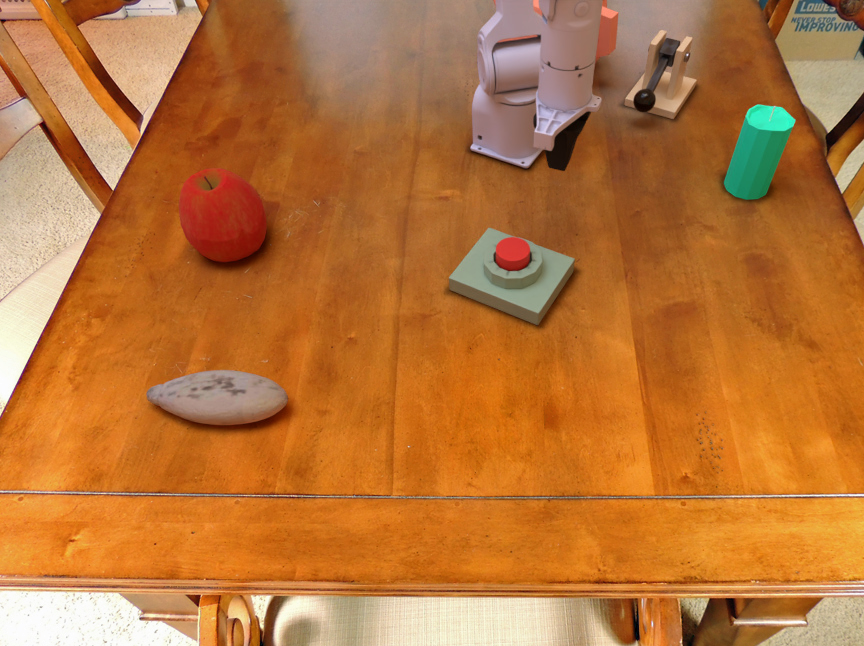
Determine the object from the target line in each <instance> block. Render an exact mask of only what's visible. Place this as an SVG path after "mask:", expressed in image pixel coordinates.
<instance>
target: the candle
mask: <svg viewBox="0 0 864 646" xmlns="http://www.w3.org/2000/svg"><path fill="white" fill-rule="evenodd" d="M796 121H797V120H796V118H794V117H793V116H792V115H791V114H790V112H787V110H786V109H785V108H783V106H776V105H765V104H756V105H754V106H752V107H750V108H749V109H748V110H747V112H746V114H745V117H744V120H743V123H742V126H741V129H740V132H739V135H738V138H737V141H736V144H735V147H734V151H733V153H732V156H731V159H730V162H729V166H728V168H727V171H726V174H725V177H724V180H723V185H724V188H725V190H726V192H728V193H730V194H731V195H732V196H733V197H735V198H739V199H742V200H746V201H747V200H759V199H761V198H763V197H764V196H766V195H767V194H768V191H769V188H770V186H771V183H772V182H773V181H772V180H773V178H774V176H775V173H776V171H777V168H778V165H779V163H780V161H781V159H782V155H783V153H784V151H785V149H786V146H787V144H788V141H789V138H790V136H791V133H792V131H793V128H794V125H795V123H796Z"/></svg>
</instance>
